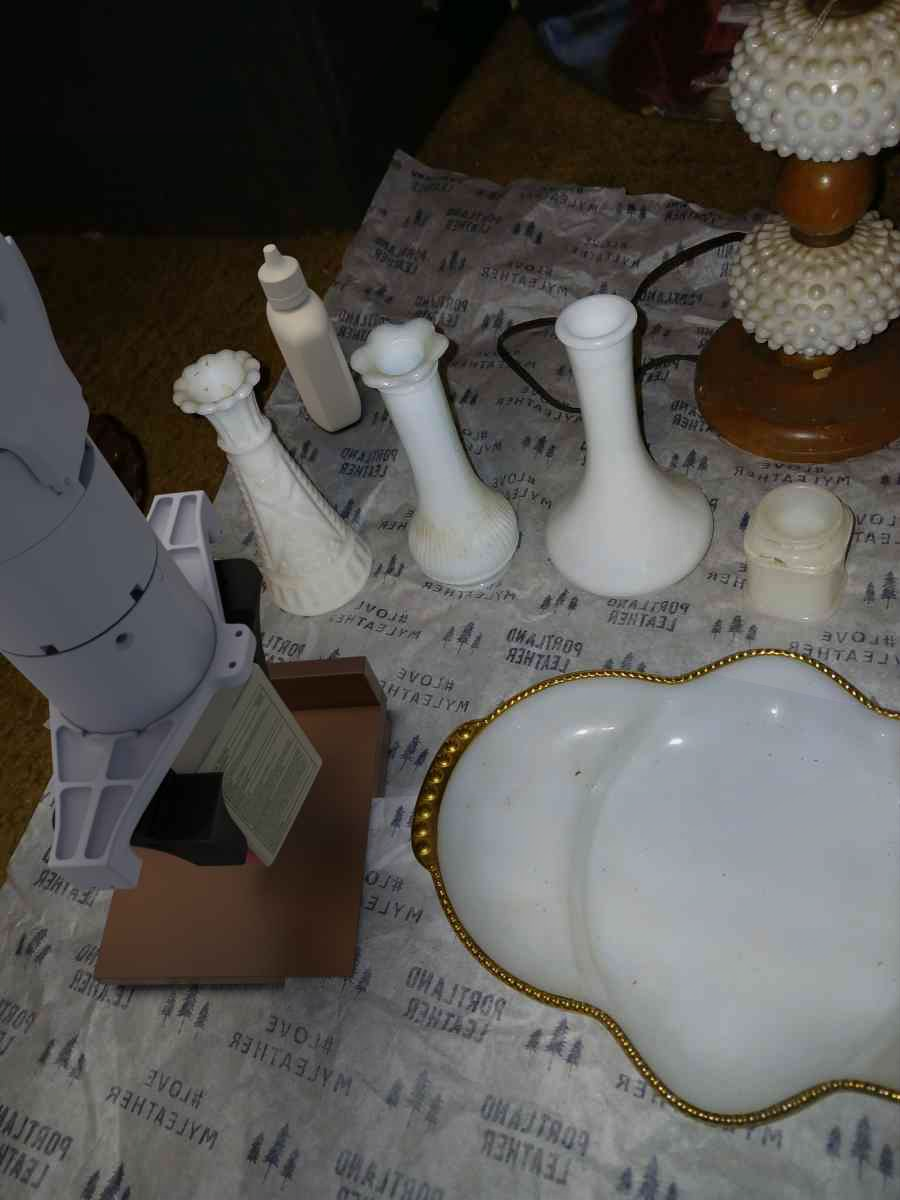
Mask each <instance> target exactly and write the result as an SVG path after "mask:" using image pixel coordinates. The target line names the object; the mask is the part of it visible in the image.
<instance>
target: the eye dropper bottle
mask: <svg viewBox="0 0 900 1200" xmlns="http://www.w3.org/2000/svg"><path fill="white" fill-rule="evenodd" d="M263 255H264V260H265V262H264V263H263V264H262V265H261V266H260V268H259V269H258V272H257V277H258V280H259V283H260V285H261V287H262V290H263V292H264V294H265V296H266V298H267V299H266V300H267V302H266V318H267V322H268V325H269V327H270V330H271V332H272V334H273V336H274V339H275V341H276V344H277V346H278V348H279V350H280V352H281V355H282V358H283V360H284V362H285V364H286V366H287V368H288V370H289V373H290V376H291V377H292V380H293V382H294V384H295V386H296V389H297V391H298V393H299V396H300V398H301V400H302V402H303V404H304V406H305V407H304V408H305V409H306V411H307V413H308V414H309V416H310V418H311V419H312V421H314V422H315V423H316V424H317V425H318V426H319V427H321V428H322V429H324V430H325V431H327V432H332V433H333V432H336V431H339V430H341V429H343V428H344V429H345V428H346V427H348V426H350V425H352V424H354V423H356V422H358V421H359V420H360V418H361V416H362V401H361V398H360V394H359V391H358V389H357V387H356V384H355V381H354V379H353V376H352V373H351V371H350V368H349V366H348V363H347V360H346V358H345V355H344V353H343V350H342V347H341V345H340V342H339V340H338V336H337V334H336V332H335V329H334V327H333V323H332V321H331V318H330V315H329V314H328V311H327V308H326V306H325V304H324V303H323V301H322V300H321V298H320V296H319V295H318V294H317V293H316V292H315V291H314V290H312V289H311V288H310V287H309V286H308V284H307V281H306V279H305V276H304V275H303V270H302V268H301V266H300V263H299V261H298V260H297V259H296V258H295V257H293V256H290V255H282V254H281V252H280V251H279V250H278V248H277V246H276V245H275V244H272V243H271V244H267V245H265V246H264V247H263Z"/></svg>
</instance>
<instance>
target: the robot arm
mask: <svg viewBox="0 0 900 1200" xmlns="http://www.w3.org/2000/svg"><path fill="white" fill-rule="evenodd" d="M82 391H83V388H82V386H81V384H80V383H79V381H78V380H77V378H76V377H75V375H74V373H73V372H72V371H71V369H70V368H69V366H68V364H67V363H66V361H65V359H64V357H63V356H62V353H61V351H60V349H59V347H58V345H57V342H56V340H55V337H54V333H53V331H52V327H51V324H50V320H49V317H48V313H47V311H46V307H45V304H44V301H43V298H42V296H41V293H40V290H39V288H38V285H37V283H36V280H35V278H34V276H33V274H32V272H31V270H30V267H29V265H28V263H27V261H26V259H25V258H24V255H23V254H22V252H21V250H20V248H19V247H18V245H17V243H16V241H15V240H14V238H13V237H12V236H11V235H8V236H4V234H2V232H0V653H1V654H2V656H4V657H5V658H6V659H7V660H8V661H9V662H10V663H11V664H12V665H13V666H14V667H15V668H16V669H17V670H18V671H19V672H20V673H21V674H22V675H23V676H24V677H25V678H26V679H27V680H28V681H29V682H30V683H31V684H32V685H33V686H34V687H35V688H36V689H37V690H38V691H40V693H41V694H42V695H43V696H44V697H45V698H46V699H47V700H48V707H49V709H48V710H49V724H50V725H49V726H50V740H51V741H50V742H51V743H50V744H51V760H52V775H53V776H52V777H53V791H54V792H53V794H54V809H53V811H52V812H53V813H52V818H51V826H52V829H53V832H54V833H53V840H52V844H51V849H50V853H49V858H48V861H47V868H49V869H50V870H51V871H52V872H54V873H55V874H56V875H58V876H59V877H61V878H62V879H63V880H64V881H66V882H67V883H69V885H71V886H72V887H74V888H75V889H77V890H78V891H114V890H117V889H134V888H136V886H137V883H138V879H139V874H140V870H141V866H142V858H141V856H139V855H138V854H137V853H136V852H135V851H134V850H133V849H132V848H131V846H133V847H141V848H147V849H152V850H157V851H161V852H164V853H167V854H171V855H173V856H176V857H179V858H181V859H184V860H186V861H188V862H191V863H193V864H195V865H197V866H233V865H243V864H244V863H246V858H247V852H248V845H247V840H246V837H245V835H244V834H243V832H242V831H241V829H240V828H239V827H238V826H237V824H236V823H235V822H234V820H233V819H232V817H231V816H230V814H229V812H228V810H227V807H226V805H225V801H224V797H223V791H222V781H223V775H224V772H208V773H187V774H176V773H175V771H174V770H173V769H172V768H170V767H171V765H172V764H173V762H174V760H175V759H176V757H177V755H178V753H179V752H180V750H181V748H182V747H183V745H184V743H185V742H186V740H187V738H188V737H189V735H190V733H191V732H192V730H193V728H194V727H195V725H196V723H197V722H198V720H199V718H200V717H201V715H202V713H203V712H204V710H205V708H206V707H207V705H208V703H209V701H210V700H211V698H212V696H213V695H214V693H215V692H216V691H217V690H219V689H220V688H224V687H234V686H238V685H241V684H242V683H244V682H245V681H246V680H247V679H248V677H249V675H250V673H251V669H252V664H253V663H255V664H258V665H259V667H260V668H261V669H262V671H263V673H264V674H265V675H266V677H267V678H268V680H269V681H270V683H271V680H270V676H269V672H268V668H267V664H266V663H267V659H266V655H265V650H264V645H263V638H262V630H261V594H262V585H263V582H264V581H263V580H264V575H263V573H262V572H261V570H260V568H259V566H258V565H257V564H256V562H254V561H253V560H252V559H249V558H246V557H233V558H223V559H222V558H221V559H215V558H214V557H213V553H212V550H211V545H213V544H215V543H217V542H218V541H219V539H220V537H221V533H222V529H223V524H224V523H223V520H222V519H221V517H220V515H219V513H218V512H217V510H216V508H215V506H214V505H213V504H212V503H213V502H211V500H210V499H209V497H208V495H207V493H206V492H205V490H203V489H201V490H194V491H193V490H192V491H182V492H174V493H164V494H157V495H154V497H153V501H152V502H151V506H150V509H149V511H148V513H147V516H146V517H145V515H144V514H143V512H142V511H141V509H140V507H138V505H137V503H136V502H135V500H134V499H133V497H132V496H131V494H130V493H129V492H128V490H127V489H126V487H125V485H124V484H123V483H122V482H121V480H120V479H119V477H118V476H117V475H116V473H115V471H114V469H113V468H112V467H111V466H110V464H109V462H108V461H107V460H106V458H105V457H104V455H103V453H102V452H101V451H100V450H99V448H98V447H97V445H96V443H95V441H94V440H93V439H92V437H90V435H89V433H88V426H89V420H90V410H89V407H88V404H87V402H86V400H85V399H84V397H83V393H82Z"/></svg>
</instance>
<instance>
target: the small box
mask: <svg viewBox="0 0 900 1200" xmlns="http://www.w3.org/2000/svg"><path fill="white" fill-rule="evenodd" d="M321 765H322V760H321V758H320V756H319V755H318V753H317V752H316V750H315V749H314V747H313V746H312V744H311V743H310V741H309V740H308V738H307V737H306V735H305V734H304V732H303V731H302V729H301V728H300V726H299V725H298V723H297V722H296V720H295V719H294V717H293V716H292V714H291V713H290V711H289V710H288V708H287V707H286V705H285V704H284V702H283V701H282V699H281V698H280V696H279V695H278V693H277V692H276V690H275V689H274V687H273V686H272V684H271V683H270V681H269V680H268V678H267V677H266V675H265V674H264V673H263V671H262V669H261V668H260V667H259V665H258V664H255V663H253V664H252V669H251V673H250V675H249V677H248V679H247V680H246V681H245V682H244V683H242V684H241V685H238V686H234V687H224V688H220V689H219V690H217V691H216V692H215V693H214V695H213V696H212V698H211V700H210V701H209V703H208V705H207V707H206V708H205V710H204V712H203V713H202V715H201V717H200V718H199V720H198V722H197V723H196V725H195V727H194V728H193V730H192V732H191V733H190V735H189V737H188V738H187V740H186V742H185V743H184V745H183V747H182V748H181V750H180V752H179V753H178V755H177V757H176V759H175V760H174V762H173V764H172V765H171V767H170V768H172V769H173V770H174V771H175V773H176V774H187V773H208V772H224V775H223V781H222V791H223V797H224V801H225V805H226V807H227V810H228V812H229V814H230V816H231V817H232V819H233V820H234V822H235V823H236V824H237V826H238V827H239V828H240V829H241V831H242V832H243V834H244V835H245V837H246V840H247V845H248V852H247V858H246V861H249V862H253V863H255V864H259V865H262V866H265V867H268V866H270V865H271V864H272V863H273V861H274V859H275V857H276V855H277V853H278V851H279V849H280V848H281V846H282V844H283V842H284V840H285V838H286V836H287V834H288V832H289V830H290V828H291V826H292V824H293V822H294V820H295V818H296V816H297V814H298V812H299V810H300V808H301V806H302V804H303V802H304V800H305V798H306V796H307V794H308V792H309V790H310V788H311V786H312V783H313V781H314V779H315V777H316V775H317V773H318V771H319V769H320V767H321Z"/></svg>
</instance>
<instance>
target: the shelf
mask: <svg viewBox="0 0 900 1200" xmlns="http://www.w3.org/2000/svg"><path fill="white" fill-rule="evenodd" d="M266 664H267V668H268V672H269V676H270V680H271V684H272V686H273V687H274V689H275V690H276V692H277V693H278V695H279V696H280V698H281V699H282V701H283V702H284V704H285V705H286V707H287V708H288V710H289V711H290V713H291V714H292V716H293V717H294V719H295V720H296V722H297V723H298V725H299V726H300V728H301V729H302V731H303V732H304V734H305V735H306V737H307V738H308V740H309V741H310V743H311V744H312V746H313V747H314V749H315V750H316V752H317V753H318V755H319V756H320V758H321V760H322V765H321V767H320V769H319V771H318V773H317V775H316V777H315V779H314V781H313V783H312V786H311V788H310V790H309V792H308V794H307V796H306V798H305V800H304V802H303V804H302V806H301V808H300V810H299V812H298V814H297V816H296V818H295V820H294V822H293V824H292V826H291V828H290V830H289V832H288V834H287V836H286V838H285V840H284V842H283V844H282V846H281V848H280V849H279V851H278V853H277V855H276V857H275V859H274V861H273V863H272V864H271V865H270V866H268V867H265V866H262V865H259V864H255V863H253V862H249V861H246V863H244V864H243V865H233V866H197V865H195V864H193V863H191V862H188V861H186V860H184V859H181V858H179V857H176V856H173V855H171V854H167V853H164V852H161V851H157V850H152V849H147V848H141V847H133V846H131V848H132V849H133V850H134V851H135V852H136V853H137V854H138V855H139V856H141V858H142V866H141V870H140V874H139V879H138V883H137V886H136V888H134V889H117V890H113V892H112V896H111V899H110V900H111V901H110V903H109V908H108V912H107V916H106V921H105V924H104V929H103V933H102V938H101V941H100V945H99V949H98V953H97V958H96V960H95V961H96V962H95V964H94V965H95V966H94V969H93V974H92V979H93V980H94V981H96V982H97V983H99V984H100V985H102V986H122V985H123V986H124V985H125V986H126V985H127V986H128V985H131V986H132V985H133V986H134V985H138V986H139V985H140V986H141V985H218V984H219V985H223V984H227V985H229V984H231V985H232V984H234V985H235V984H236V985H237V984H285V983H286V979H290V978H291V979H293V978H295V979H296V978H297V979H298V978H299V979H302V978H353V977H354V976H355V967H356V958H357V957H356V956H357V948H358V940H359V939H358V938H359V928H360V921H361V912H362V911H361V909H362V901H363V893H364V892H363V891H364V881H365V872H366V862H367V852H368V845H369V844H368V843H369V833H370V823H371V813H372V804H373V799H384V798H385V791H386V790H385V789H386V779H387V770H388V759H389V750H390V739H391V729H392V725H391V723H390V721H389V719H388V717H387V709H388V697H387V695H386V693H385V691H384V688H382V685H381V683H380V681H379V679H378V677H377V676H376V673H375V672H374V670H373V668H372V666H371V664H370V662H369V660H368V658H367V656H366V655H359V656H356V655H355V656H346V657H344V656H343V657H330V658H319V659H318V658H317V659H306V660H292V661H290V660H289V661H281V662H280V661H278V662H266Z"/></svg>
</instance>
